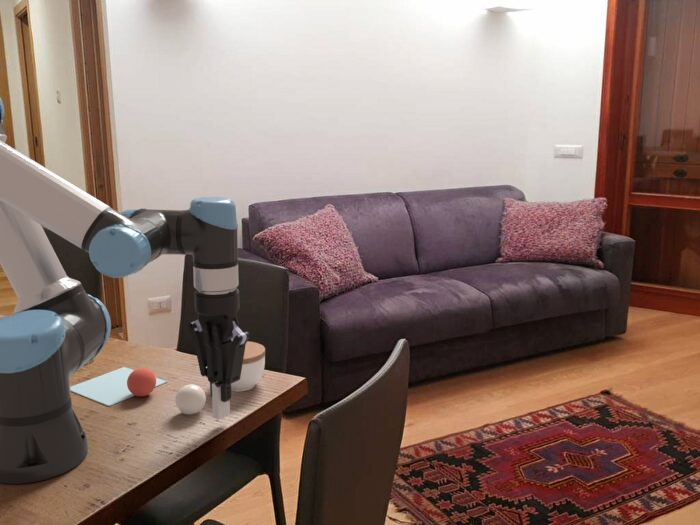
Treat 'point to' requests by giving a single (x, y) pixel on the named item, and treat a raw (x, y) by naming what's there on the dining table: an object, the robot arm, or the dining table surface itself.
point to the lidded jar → (250, 367)
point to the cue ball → (190, 399)
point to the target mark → (108, 387)
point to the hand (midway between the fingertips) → (221, 415)
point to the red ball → (141, 382)
